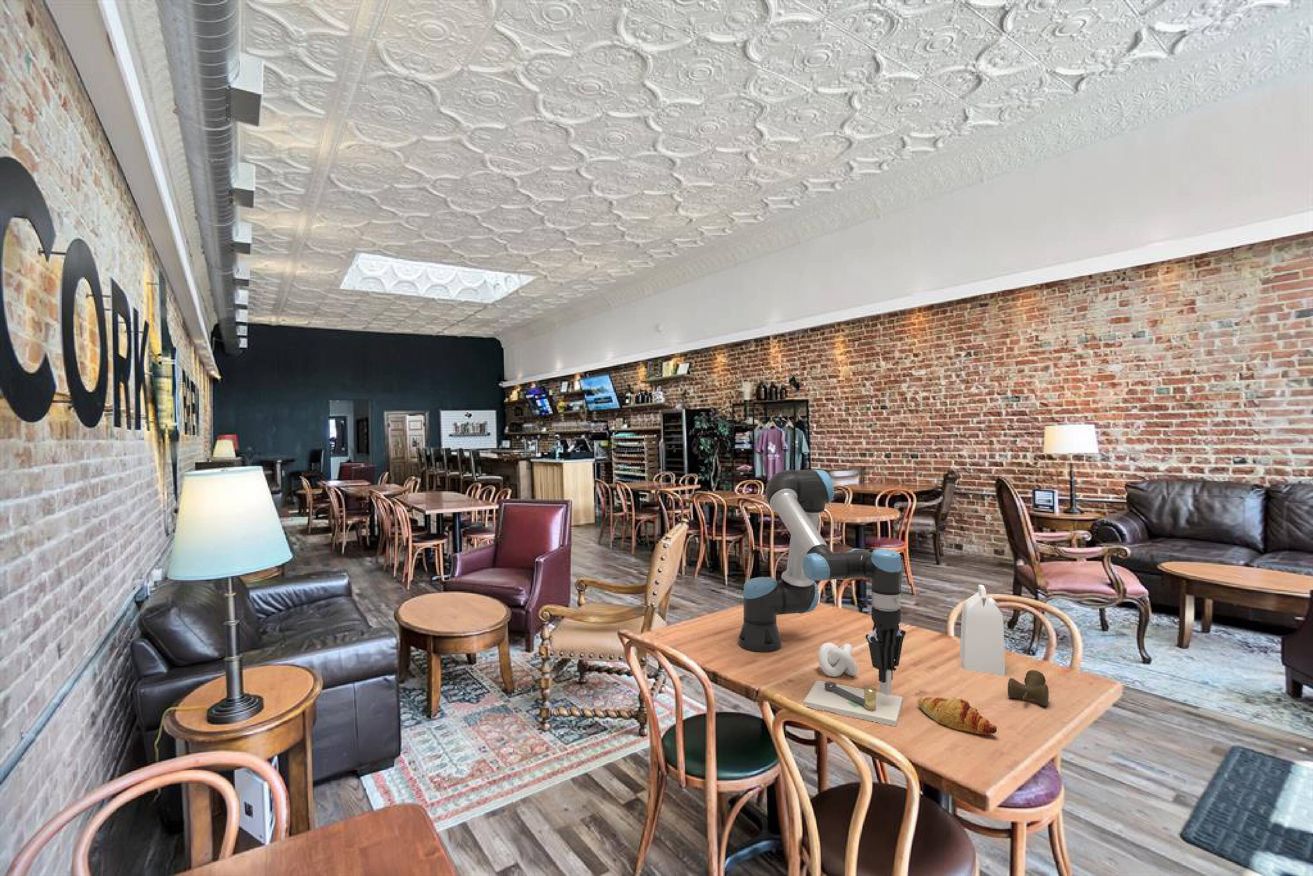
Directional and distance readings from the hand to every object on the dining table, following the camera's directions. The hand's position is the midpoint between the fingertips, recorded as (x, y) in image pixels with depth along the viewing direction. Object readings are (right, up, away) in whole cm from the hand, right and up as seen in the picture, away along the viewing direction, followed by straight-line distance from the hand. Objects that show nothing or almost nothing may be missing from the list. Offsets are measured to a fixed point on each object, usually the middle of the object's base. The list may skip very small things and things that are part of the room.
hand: (885, 692), depth 163 cm
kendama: (+45, -5, +8) cm, 46 cm away
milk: (+43, -5, +31) cm, 53 cm away
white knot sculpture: (-5, -5, +26) cm, 26 cm away
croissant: (+16, -5, -7) cm, 18 cm away
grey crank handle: (-9, -3, +3) cm, 10 cm away
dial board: (-8, -5, +3) cm, 10 cm away
